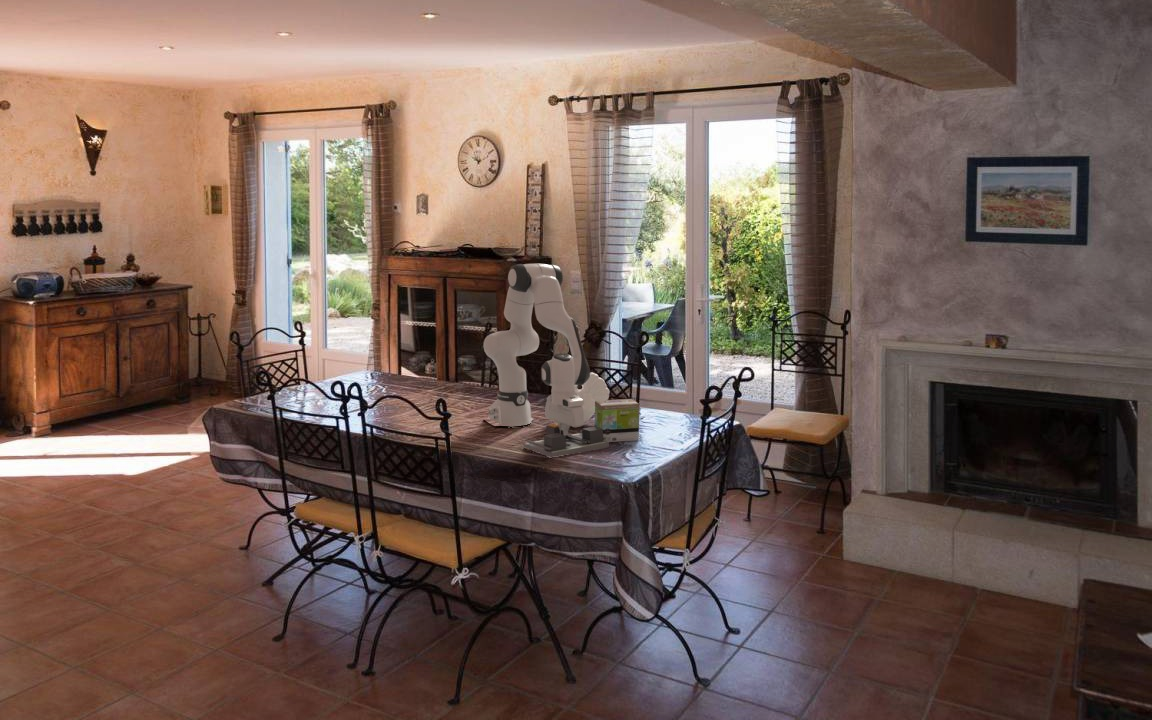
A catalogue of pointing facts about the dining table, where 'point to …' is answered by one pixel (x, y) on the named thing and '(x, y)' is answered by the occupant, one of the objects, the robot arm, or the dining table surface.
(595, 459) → the dining table surface
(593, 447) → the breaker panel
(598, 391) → the decorative rooster
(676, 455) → the dining table surface
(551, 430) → the block
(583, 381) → the robot arm
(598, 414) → the tea box
